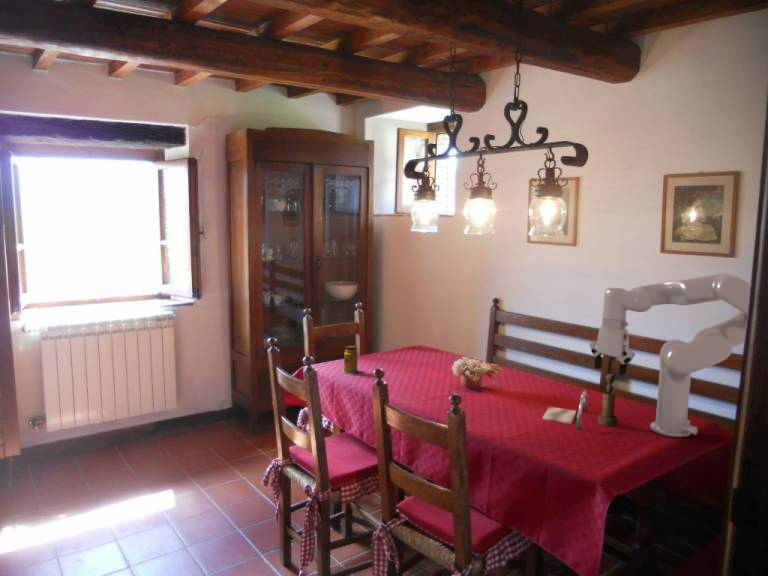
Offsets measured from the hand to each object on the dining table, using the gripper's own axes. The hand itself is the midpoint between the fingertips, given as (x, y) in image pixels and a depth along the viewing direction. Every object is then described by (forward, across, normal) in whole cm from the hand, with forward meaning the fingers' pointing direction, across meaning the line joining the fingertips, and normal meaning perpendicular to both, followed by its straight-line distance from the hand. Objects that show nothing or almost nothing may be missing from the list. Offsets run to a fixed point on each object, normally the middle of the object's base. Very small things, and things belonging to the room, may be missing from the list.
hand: (609, 371), depth 203 cm
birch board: (+19, +14, +8) cm, 25 cm away
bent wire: (+19, +7, +4) cm, 21 cm away
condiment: (+21, +104, +43) cm, 114 cm away
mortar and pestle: (+19, 0, 0) cm, 19 cm away
